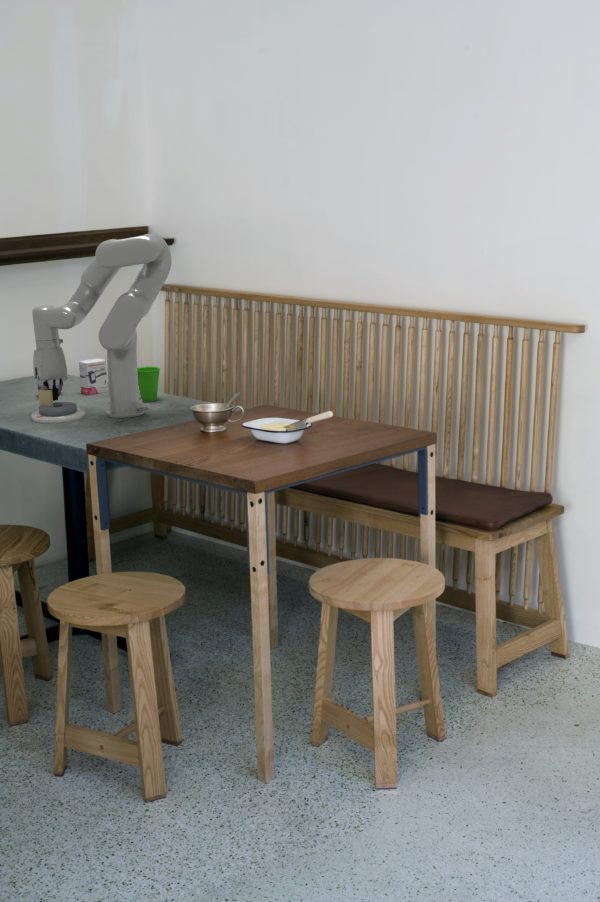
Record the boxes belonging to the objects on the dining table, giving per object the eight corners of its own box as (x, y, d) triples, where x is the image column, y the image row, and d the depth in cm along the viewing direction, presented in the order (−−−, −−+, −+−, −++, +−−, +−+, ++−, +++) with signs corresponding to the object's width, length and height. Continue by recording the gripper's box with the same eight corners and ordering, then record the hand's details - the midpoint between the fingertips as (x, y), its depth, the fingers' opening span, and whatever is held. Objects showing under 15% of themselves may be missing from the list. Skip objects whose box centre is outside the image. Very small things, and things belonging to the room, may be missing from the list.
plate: (94, 412, 363) (93, 407, 362) (70, 424, 347) (69, 418, 347) (47, 410, 367) (47, 405, 367) (22, 422, 352) (21, 416, 351)
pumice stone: (33, 403, 391) (52, 398, 385) (26, 382, 390) (45, 377, 384) (53, 397, 399) (72, 392, 393) (47, 377, 398) (66, 371, 392)
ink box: (88, 395, 391) (86, 362, 388) (80, 393, 394) (78, 361, 391) (108, 391, 396) (106, 359, 393) (100, 390, 400) (98, 358, 397)
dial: (83, 408, 360) (82, 388, 358) (64, 416, 349) (62, 395, 348) (51, 407, 364) (49, 386, 363) (30, 414, 354) (28, 393, 352)
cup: (167, 398, 381) (165, 367, 379) (150, 403, 374) (148, 372, 371) (147, 396, 386) (145, 365, 383) (130, 401, 379) (128, 369, 376)
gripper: (63, 340, 363) (69, 394, 367) (21, 346, 354) (28, 402, 358) (74, 342, 357) (80, 397, 361) (31, 348, 348) (38, 405, 353)
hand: (54, 399), depth 360 cm, fingers closed
